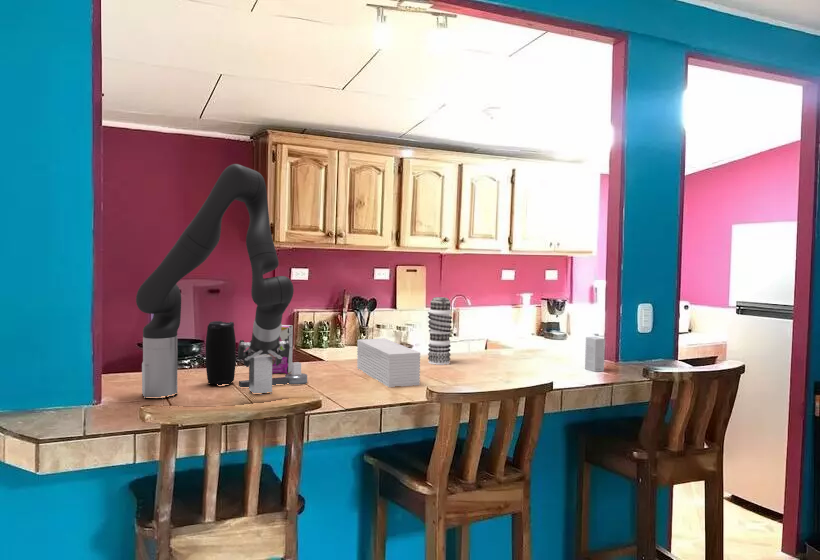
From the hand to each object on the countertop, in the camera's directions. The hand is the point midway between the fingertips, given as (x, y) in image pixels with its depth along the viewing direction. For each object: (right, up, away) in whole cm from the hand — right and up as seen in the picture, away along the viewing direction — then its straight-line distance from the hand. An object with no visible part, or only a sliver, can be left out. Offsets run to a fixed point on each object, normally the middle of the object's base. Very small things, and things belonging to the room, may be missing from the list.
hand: (262, 363), depth 186 cm
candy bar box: (-3, -8, +34) cm, 35 cm away
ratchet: (0, -9, +15) cm, 17 cm away
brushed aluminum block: (-1, -9, +4) cm, 10 cm away
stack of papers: (+35, -9, +31) cm, 48 cm away
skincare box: (+111, -9, +49) cm, 122 cm away
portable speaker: (-16, -8, +14) cm, 23 cm away
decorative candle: (+54, -7, +58) cm, 80 cm away
